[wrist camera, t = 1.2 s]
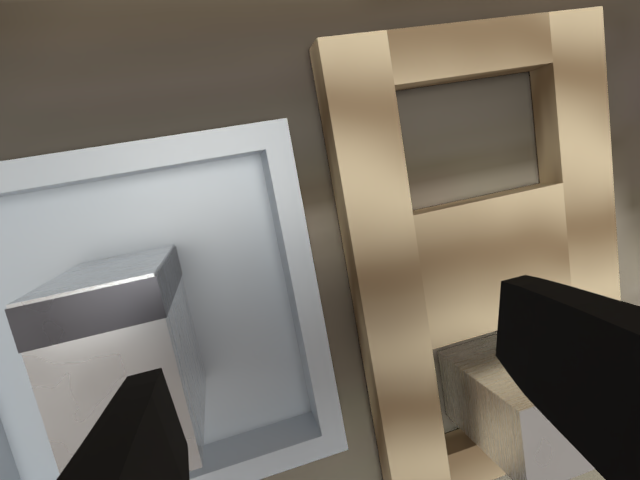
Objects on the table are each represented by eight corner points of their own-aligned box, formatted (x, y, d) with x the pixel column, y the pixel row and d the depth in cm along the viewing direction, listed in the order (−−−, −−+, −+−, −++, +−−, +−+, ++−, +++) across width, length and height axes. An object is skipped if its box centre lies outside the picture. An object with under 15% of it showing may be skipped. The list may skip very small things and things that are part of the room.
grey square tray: (332, 418, 20) (348, 449, 18) (13, 520, 17) (-20, 573, 15) (277, 127, 18) (286, 118, 16) (-102, 186, 15) (-162, 185, 13)
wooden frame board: (604, 413, 25) (628, 427, 23) (385, 494, 22) (397, 516, 20) (575, 18, 21) (602, 6, 20) (308, 49, 18) (317, 37, 17)
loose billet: (175, 243, 17) (155, 272, 11) (207, 377, 18) (204, 467, 12) (78, 263, 16) (2, 306, 11) (117, 402, 17) (68, 510, 12)
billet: (542, 383, 23) (650, 448, 17) (446, 415, 22) (529, 497, 16) (536, 321, 23) (646, 366, 17) (437, 350, 21) (519, 410, 16)
